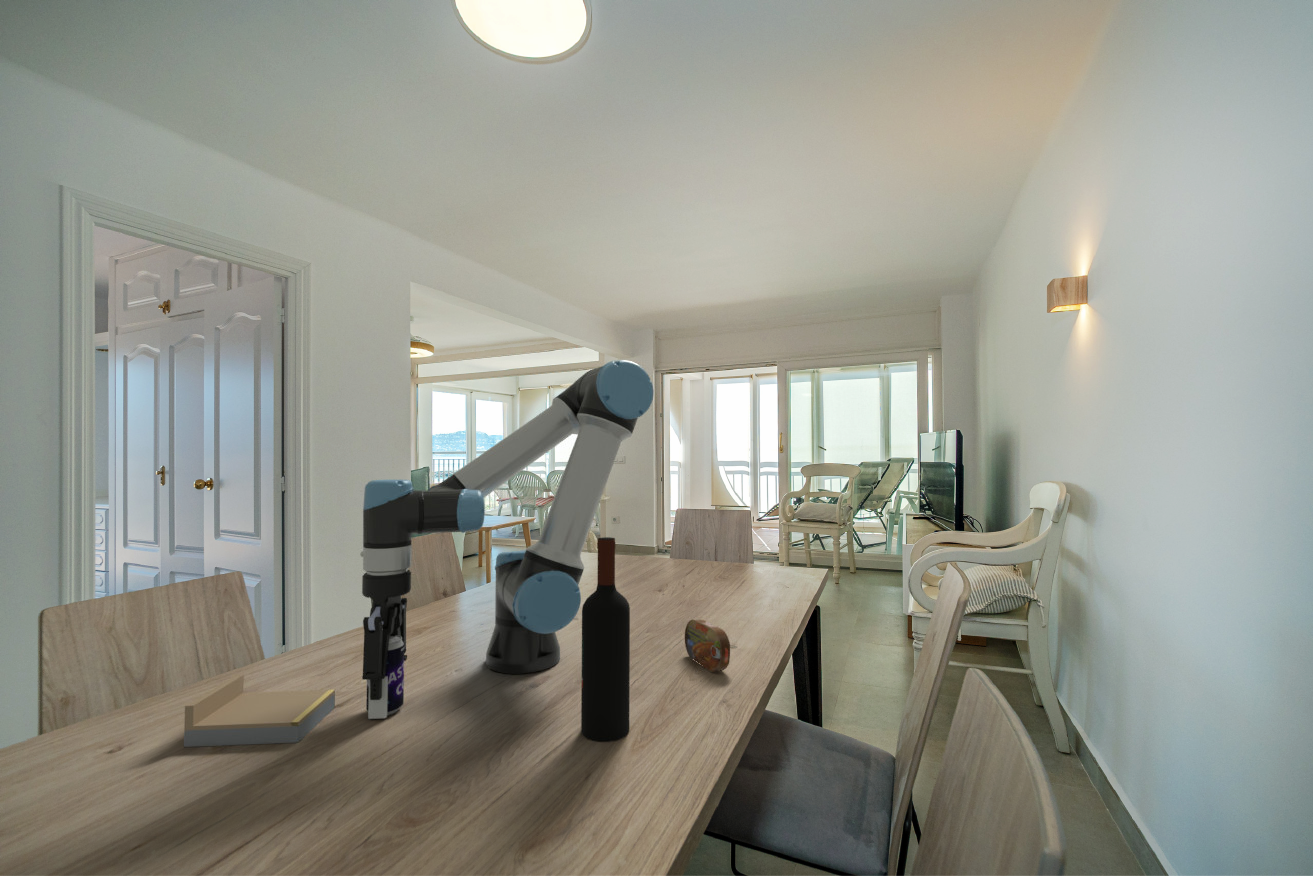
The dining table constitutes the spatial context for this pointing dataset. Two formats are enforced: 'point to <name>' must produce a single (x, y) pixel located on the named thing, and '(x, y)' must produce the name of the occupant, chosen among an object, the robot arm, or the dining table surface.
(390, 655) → the beverage can
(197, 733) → the dock
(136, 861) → the dining table surface
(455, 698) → the dining table surface
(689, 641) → the tin
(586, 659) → the wine bottle
